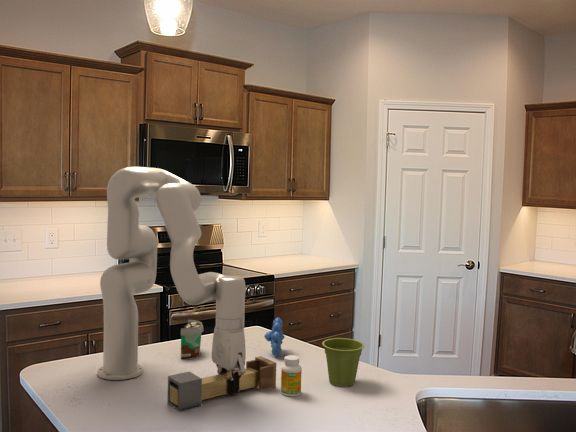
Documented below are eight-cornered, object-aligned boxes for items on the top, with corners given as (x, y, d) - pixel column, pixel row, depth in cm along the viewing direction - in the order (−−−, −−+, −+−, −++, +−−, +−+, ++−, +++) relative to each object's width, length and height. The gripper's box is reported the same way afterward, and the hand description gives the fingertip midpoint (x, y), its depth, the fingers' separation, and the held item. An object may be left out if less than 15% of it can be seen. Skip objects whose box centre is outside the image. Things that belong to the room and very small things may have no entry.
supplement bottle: (286, 398, 148) (287, 361, 147) (277, 391, 152) (278, 355, 152) (304, 395, 150) (305, 359, 150) (295, 388, 155) (295, 353, 154)
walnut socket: (245, 383, 157) (246, 359, 157) (260, 380, 160) (260, 356, 160) (260, 391, 152) (261, 366, 151) (275, 387, 155) (276, 362, 154)
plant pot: (312, 382, 160) (313, 343, 159) (338, 373, 169) (339, 335, 168) (346, 393, 152) (347, 352, 151) (371, 383, 161) (372, 344, 160)
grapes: (265, 348, 191) (266, 313, 191) (285, 349, 191) (286, 314, 190) (261, 359, 180) (262, 322, 179) (282, 360, 179) (283, 323, 179)
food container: (199, 361, 176) (200, 329, 176) (180, 360, 176) (180, 328, 176) (206, 349, 189) (206, 320, 188) (187, 349, 189) (188, 319, 188)
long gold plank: (169, 401, 141) (170, 384, 141) (248, 382, 156) (249, 367, 156) (177, 406, 138) (177, 389, 138) (257, 386, 153) (258, 371, 153)
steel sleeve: (167, 403, 142) (167, 375, 142) (188, 398, 146) (189, 371, 145) (179, 411, 137) (180, 383, 137) (201, 406, 141) (201, 378, 140)
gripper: (201, 318, 153) (200, 384, 154) (235, 332, 140) (233, 404, 141) (225, 315, 157) (223, 379, 158) (260, 328, 144) (258, 398, 145)
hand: (228, 390), depth 150 cm, fingers closed on long gold plank, 4 cm apart
